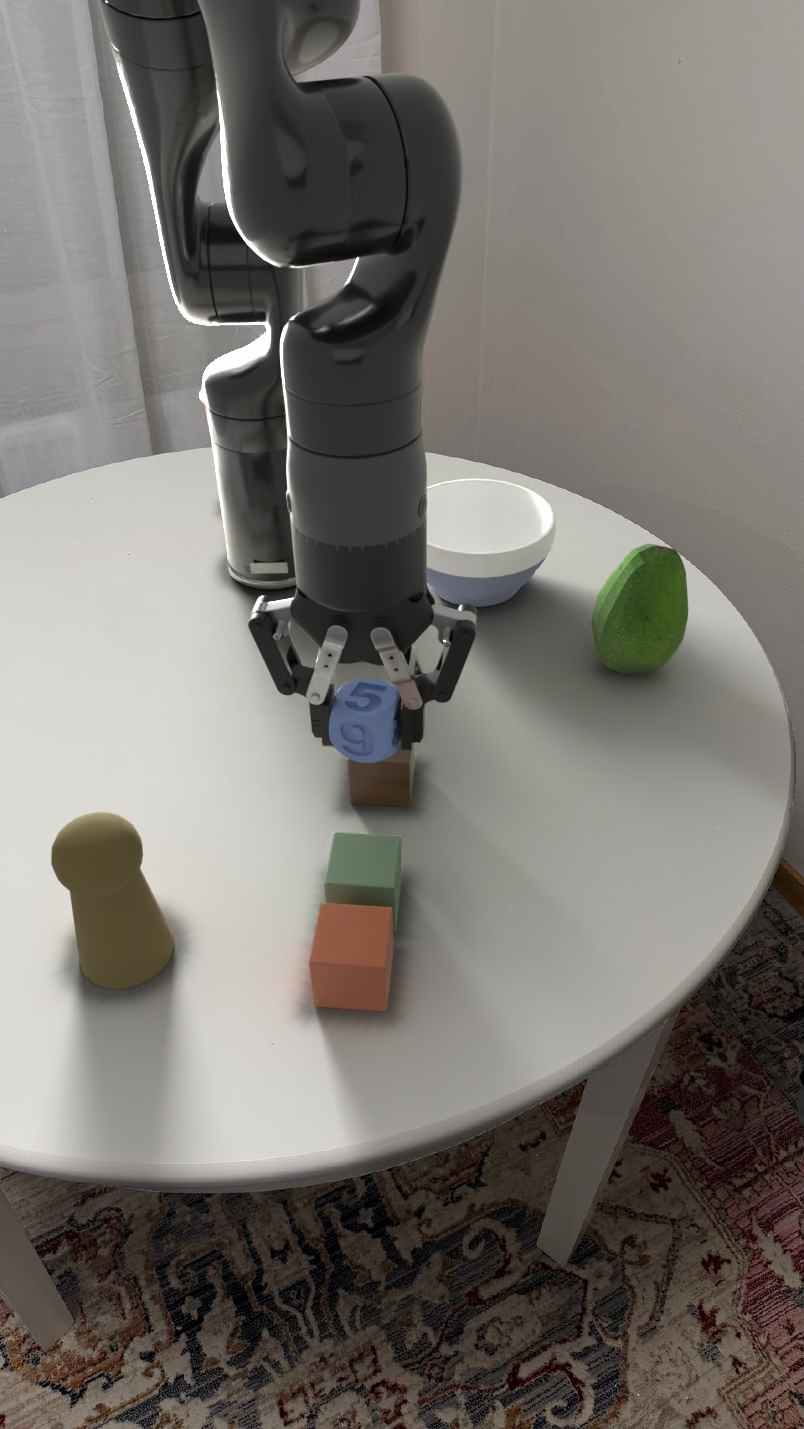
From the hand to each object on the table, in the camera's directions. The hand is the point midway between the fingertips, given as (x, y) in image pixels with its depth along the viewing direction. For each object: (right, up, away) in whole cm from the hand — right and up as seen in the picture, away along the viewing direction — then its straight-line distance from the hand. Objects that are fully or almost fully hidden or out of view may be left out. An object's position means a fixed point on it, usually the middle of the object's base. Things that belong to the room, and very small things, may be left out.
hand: (368, 739), depth 66 cm
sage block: (0, -11, +2) cm, 11 cm away
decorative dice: (0, 0, 0) cm, 1 cm away
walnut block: (+1, -4, +11) cm, 11 cm away
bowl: (+9, +14, +32) cm, 36 cm away
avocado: (+22, +6, +22) cm, 32 cm away
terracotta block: (-1, -15, -3) cm, 15 cm away
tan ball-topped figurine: (-16, -14, -1) cm, 21 cm away
